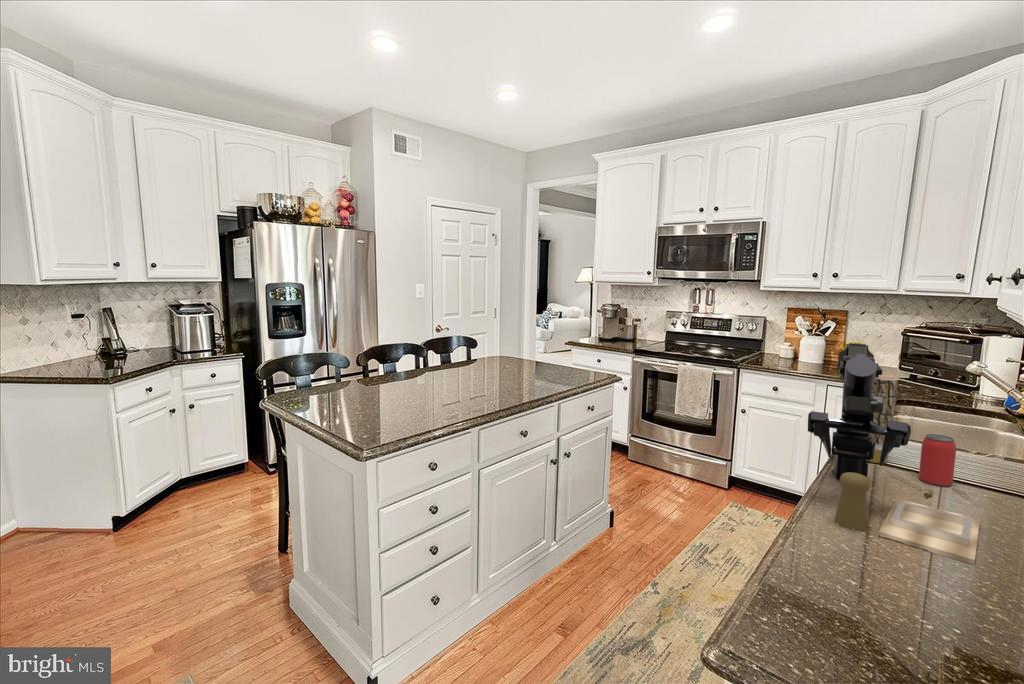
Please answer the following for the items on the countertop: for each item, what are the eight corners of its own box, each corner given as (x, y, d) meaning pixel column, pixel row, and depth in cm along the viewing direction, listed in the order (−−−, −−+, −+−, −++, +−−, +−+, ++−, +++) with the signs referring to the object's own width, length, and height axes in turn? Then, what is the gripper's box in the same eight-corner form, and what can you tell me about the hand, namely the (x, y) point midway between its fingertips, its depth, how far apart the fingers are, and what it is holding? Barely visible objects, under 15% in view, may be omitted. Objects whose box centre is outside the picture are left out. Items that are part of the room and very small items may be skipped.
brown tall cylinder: (892, 465, 135) (904, 379, 131) (865, 462, 136) (876, 377, 133) (879, 456, 141) (890, 374, 138) (854, 454, 143) (864, 372, 139)
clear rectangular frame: (890, 524, 99) (891, 518, 99) (899, 507, 107) (900, 500, 107) (967, 546, 91) (968, 539, 90) (971, 525, 99) (971, 518, 98)
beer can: (918, 475, 128) (922, 431, 126) (951, 481, 124) (956, 436, 122) (918, 482, 123) (923, 437, 121) (953, 489, 119) (958, 443, 117)
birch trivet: (878, 536, 96) (878, 531, 96) (896, 502, 111) (896, 498, 111) (974, 565, 86) (974, 559, 86) (979, 523, 101) (980, 519, 101)
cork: (857, 517, 104) (861, 469, 103) (875, 531, 98) (880, 480, 97) (828, 516, 105) (831, 468, 104) (844, 530, 99) (848, 479, 98)
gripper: (811, 377, 112) (805, 435, 104) (913, 386, 102) (916, 451, 94) (810, 403, 119) (805, 459, 112) (906, 414, 109) (907, 476, 101)
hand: (854, 460), depth 104 cm, fingers open, 9 cm apart
